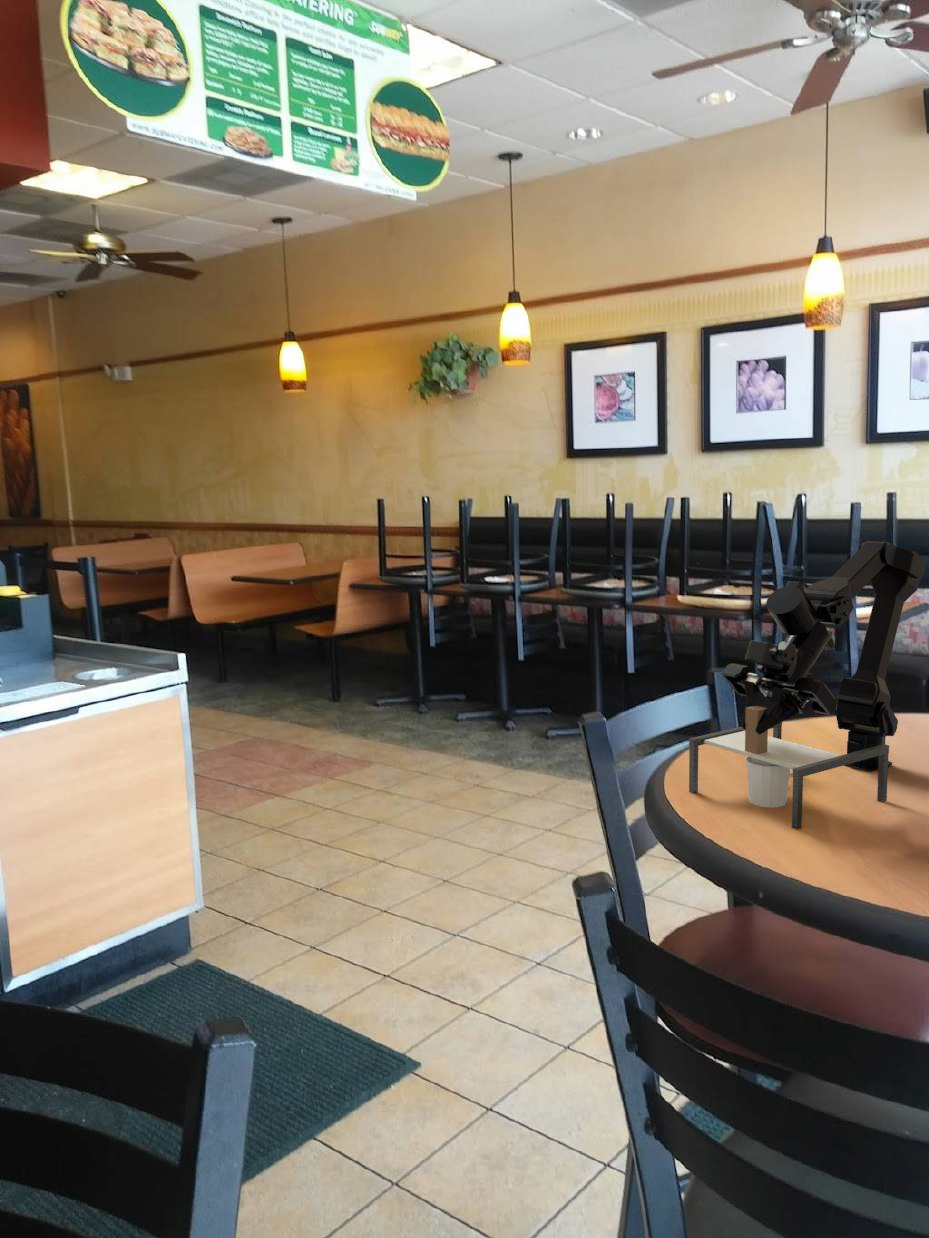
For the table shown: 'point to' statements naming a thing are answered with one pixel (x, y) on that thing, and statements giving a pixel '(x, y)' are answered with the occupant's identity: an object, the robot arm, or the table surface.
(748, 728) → the sliding cover
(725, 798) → the table surface
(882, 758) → the cover frame
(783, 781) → the white cup
